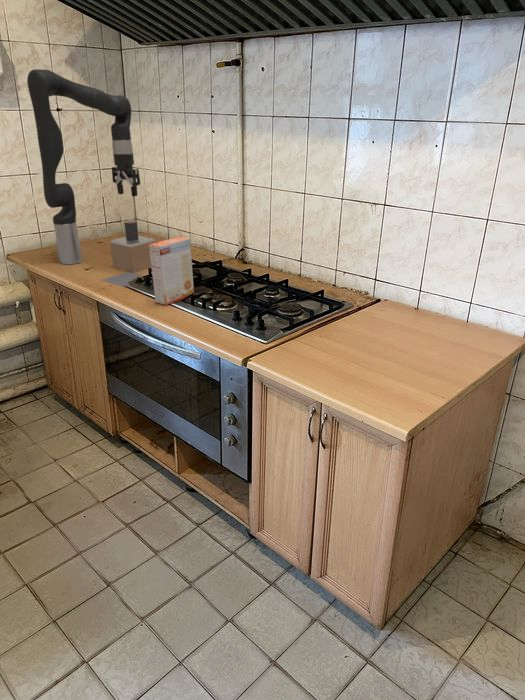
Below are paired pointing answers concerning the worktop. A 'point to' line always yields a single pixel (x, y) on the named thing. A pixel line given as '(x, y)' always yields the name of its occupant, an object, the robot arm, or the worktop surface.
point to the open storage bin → (131, 257)
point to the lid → (132, 236)
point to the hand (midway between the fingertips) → (127, 195)
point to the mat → (122, 278)
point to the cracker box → (171, 270)
